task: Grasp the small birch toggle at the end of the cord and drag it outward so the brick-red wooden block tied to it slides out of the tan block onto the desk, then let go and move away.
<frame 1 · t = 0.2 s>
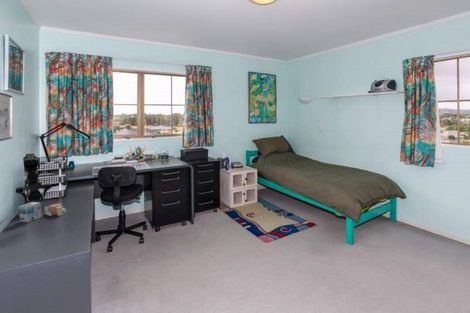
hand: (35, 200, 179), 14 cm above the table, fingers open, 9 cm apart
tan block: (56, 213, 195), on the table
light bulb box: (31, 219, 183), on the table
tethered block: (56, 213, 195), on the table
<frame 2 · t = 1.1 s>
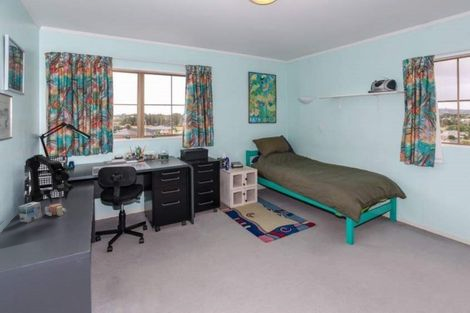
hand: (58, 200, 190), 10 cm above the table, fingers open, 9 cm apart
nothing on the table moved.
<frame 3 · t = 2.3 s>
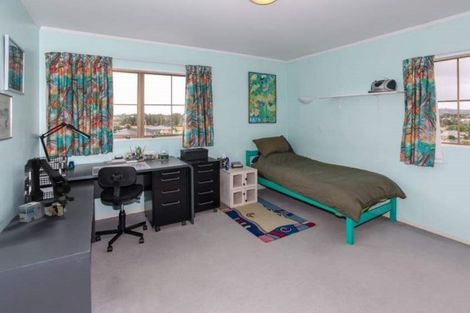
hand: (60, 212, 191), 2 cm above the table, fingers closed on tethered block, 3 cm apart
tethered block: (56, 213, 195), on the table, touching gripper
everything else where it was.
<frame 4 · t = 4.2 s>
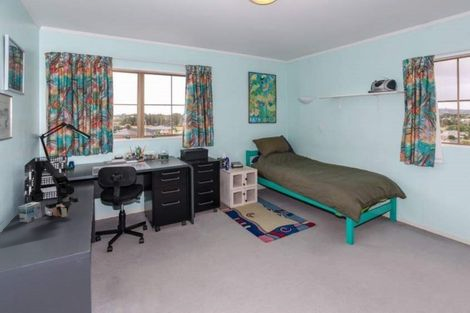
hand: (63, 214, 188), 2 cm above the table, fingers closed on tethered block, 3 cm apart
tethered block: (59, 214, 192), on the table, touching gripper
everything else where it was.
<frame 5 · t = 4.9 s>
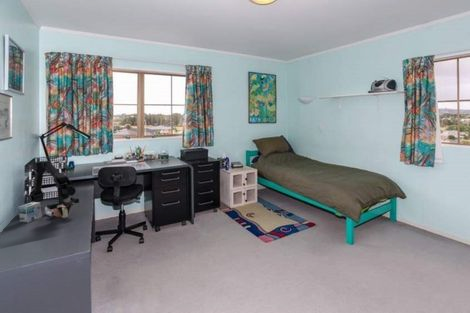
hand: (64, 214, 187), 2 cm above the table, fingers closed on tethered block, 3 cm apart
tethered block: (60, 215, 191), on the table, touching gripper
everything else where it was.
when the fingers open (2 cm above the table, at t = 5.7 s): tethered block stays where it is, on the table.
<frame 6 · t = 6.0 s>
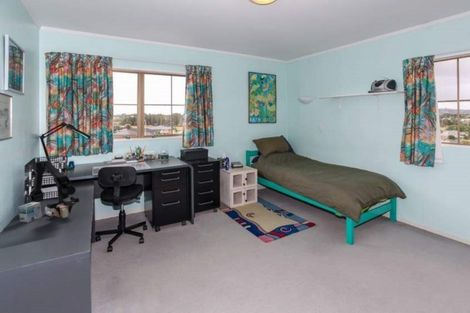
hand: (64, 214, 187), 2 cm above the table, fingers open, 6 cm apart
tethered block: (60, 215, 191), on the table
everything else where it was.
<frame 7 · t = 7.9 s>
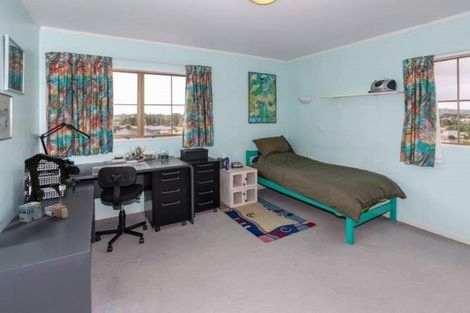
hand: (66, 194, 199), 12 cm above the table, fingers open, 9 cm apart
nothing on the table moved.
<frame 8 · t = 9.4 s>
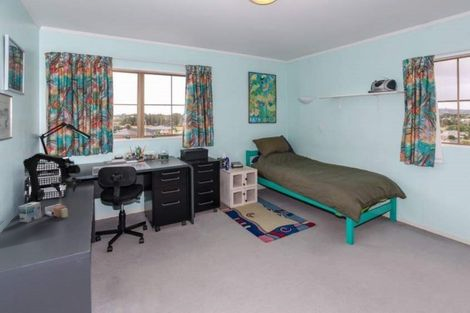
hand: (67, 193, 200), 13 cm above the table, fingers open, 9 cm apart
nothing on the table moved.
at the end: tethered block inside the target area (2.1 cm from its centre), on the table; tethered block tilted 0°; the gripper is holding nothing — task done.
